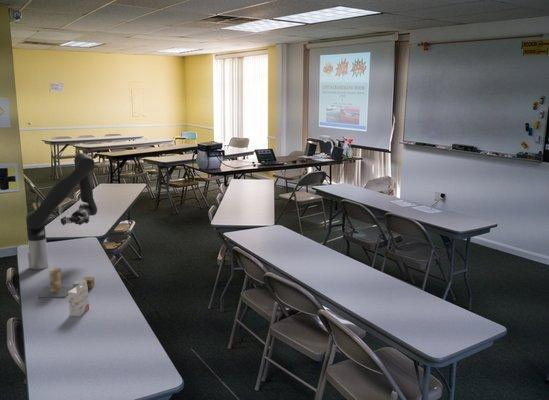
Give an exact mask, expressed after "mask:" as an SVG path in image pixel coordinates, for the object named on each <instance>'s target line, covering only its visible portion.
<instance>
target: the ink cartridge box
mask: <svg viewBox="0 0 549 400" xmlns="http://www.w3.org/2000/svg"><path fill="white" fill-rule="evenodd" d="M81 285H83V286H81ZM67 297H68V298H67V299H68V309H69V316H71V317H81V316H82V315H83V314H84V313H86V312H87V311H88V310H89V309H90V303H89V302H90V301H89V299H90V298H89V289H88V286H87V281H84V282H82V283H81V284H79V285H78V286H76V287H75V288H74V289H72V290H70V291H69V292H68V295H67Z"/></svg>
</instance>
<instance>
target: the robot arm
mask: <svg viewBox="0 0 549 400" xmlns="http://www.w3.org/2000/svg"><path fill="white" fill-rule="evenodd" d="M73 159H74V160H73V161H74V165H75V169H74V170H73V171H72V172H71V173H70V174H68V175H67V176H65V177H62V178H61V179H60V180H58V181H57V182H55V184H54V185H53V186H52V187H51V189H50V190H49V191H48V193H47V194H46V196H45V198H44V199H43V201H42V202H41V204H40V205H39V206H38V207H37V208H36V209H35V210H32V211H31V210H30V211H29V212H28V213H27V215H26V217H25V218H26V219H25V223H26V233H27V243H28V252H27V258H28V260H27V261H28V268H29V270H35V271H39V270H44V269H46V268H48V267H49V260H48V258H49V257H48V248H47V247H48V246H47V235H46V226H45V223H46V221H47V220H48V219H49V217H50V216H51V215H52V213H53V212H54V211H55V210H56V209H57V208H58V207H59V206H60V205H61V204H62V203H63V202H64V201H65V200H66V199H67V197H68V196H69V195H70V193H72V191H73V190H74V189H75V188H76V187H77V186H78V185H79V195H80V201H81V202H82V203H81V204H80V205H79V206H78V209H76V210H75V211H74V212H73V213H72V214H71V215H70V216H69V217H67V216H63V217H62V218H60V223H61V224H62V226H65V225H66V224H68V225H70V224H75V225H78V226H81V225H83V224H89V222H90V216H95V215H97V213H98V206H97V204H96V202H95V199H94V194H93V193H94V190H93V185H92V182H91V180H90V179H91V178H90V175H89V173H91V172H92V170H93V169H94V168H95V165H96V164H95V160H94V159H93V158H92V157H91V156H89V155H88V154H87V153H84V152H80V153H78V154H76V155H75V157H74V158H73Z"/></svg>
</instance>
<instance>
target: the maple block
mask: <svg viewBox="0 0 549 400" xmlns="http://www.w3.org/2000/svg"><path fill="white" fill-rule="evenodd" d="M48 271H49V273H48V274H49V284H50V286H49V287H51V293H60V292H61V290H62V274H61V267H52V268H50V269H49V270H48Z"/></svg>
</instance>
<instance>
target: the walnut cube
mask: <svg viewBox="0 0 549 400" xmlns="http://www.w3.org/2000/svg"><path fill="white" fill-rule="evenodd" d="M81 280H86V281H87V286H88V290H93V288H94V287H95V276H84V277H82V279H81Z"/></svg>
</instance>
